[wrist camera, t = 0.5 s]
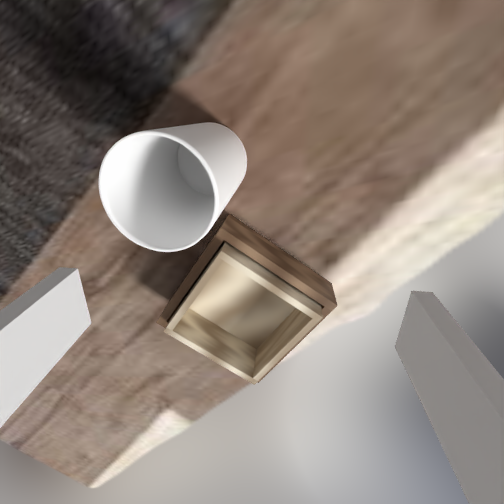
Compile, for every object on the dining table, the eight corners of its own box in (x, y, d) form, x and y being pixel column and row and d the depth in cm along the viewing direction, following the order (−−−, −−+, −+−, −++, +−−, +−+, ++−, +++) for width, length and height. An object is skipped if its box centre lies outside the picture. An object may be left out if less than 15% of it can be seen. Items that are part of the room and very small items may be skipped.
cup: (179, 196, 37) (110, 250, 23) (172, 122, 34) (85, 130, 19) (247, 197, 36) (220, 254, 22) (246, 122, 33) (214, 130, 18)
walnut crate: (169, 300, 44) (155, 322, 39) (229, 213, 37) (221, 227, 33) (261, 356, 46) (258, 382, 42) (331, 283, 40) (337, 305, 35)
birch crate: (179, 303, 42) (163, 331, 37) (230, 230, 37) (221, 250, 32) (258, 351, 44) (254, 384, 39) (318, 289, 39) (322, 317, 34)
